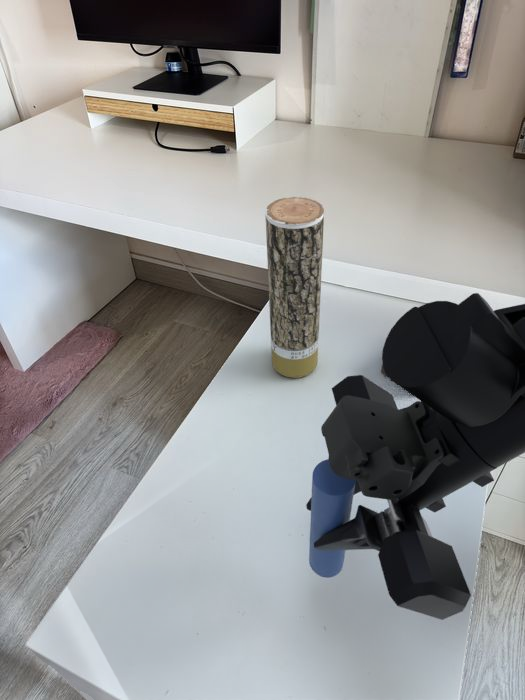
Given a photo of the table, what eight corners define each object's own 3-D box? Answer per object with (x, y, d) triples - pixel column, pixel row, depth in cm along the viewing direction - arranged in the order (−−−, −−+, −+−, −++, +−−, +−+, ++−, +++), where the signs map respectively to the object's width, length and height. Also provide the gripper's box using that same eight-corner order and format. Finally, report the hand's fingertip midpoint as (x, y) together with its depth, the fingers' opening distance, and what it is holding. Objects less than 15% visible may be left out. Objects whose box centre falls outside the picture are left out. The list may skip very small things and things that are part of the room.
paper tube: (321, 352, 77) (329, 199, 60) (311, 384, 72) (316, 228, 55) (279, 345, 79) (274, 194, 62) (266, 375, 74) (257, 221, 57)
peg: (350, 562, 47) (364, 478, 37) (326, 585, 45) (334, 503, 36) (325, 537, 49) (333, 451, 39) (301, 558, 47) (303, 475, 38)
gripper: (366, 295, 38) (233, 406, 45) (463, 523, 25) (251, 632, 32) (446, 359, 44) (317, 449, 51) (561, 573, 30) (363, 655, 37)
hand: (313, 527), depth 43 cm, fingers closed on peg, 3 cm apart
